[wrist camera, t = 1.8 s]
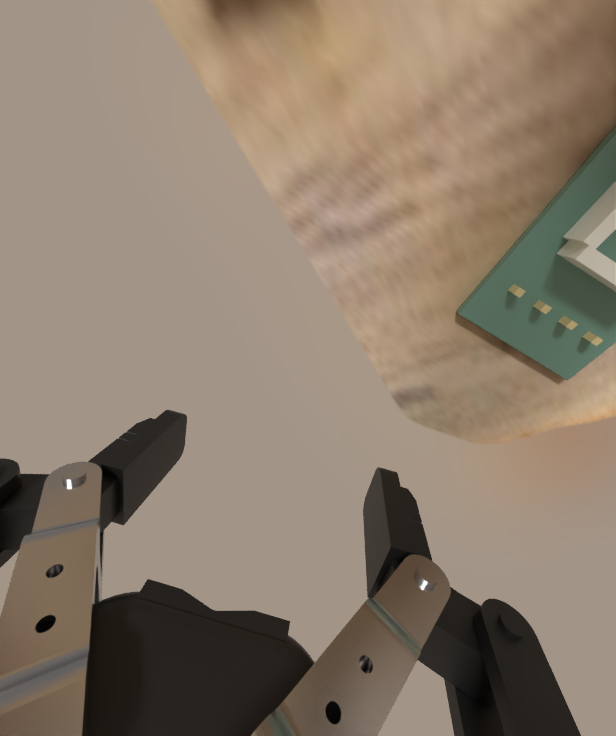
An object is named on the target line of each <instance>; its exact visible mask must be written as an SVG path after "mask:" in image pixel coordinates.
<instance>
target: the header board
mask: <svg viewBox="0 0 616 736" xmlns="http://www.w3.org/2000/svg"><path fill="white" fill-rule="evenodd" d="M457 312H458V314H459V315H461V316H463V317H464V318H466V319H468V320H469V321H471V322H473V323H474V324H476V325H477V326H479V327H481V328H482V329H484V330H486V331H487V332H489V333H491V334H492V335H494V336H495V337H497V338H499V339H500V340H502V341H504V342H505V343H507V344H509V345H510V346H512V347H514V348H515V349H517V350H518V351H520V352H522V353H523V354H525V355H527V356H528V357H530V358H532V359H533V360H535V361H537V362H538V363H540V364H541V365H543V366H545V367H546V368H548V369H550V370H551V371H553V372H555V373H556V374H558V375H559V376H561V377H563V378H564V379H566V380H568V379H570V378H571V377H572V376H574V375H575V374H576V373H577V372H579V371H580V370H581V369H582V368H584V367H585V366H586V365H588V364H589V363H590V362H591V361H593V360H594V359H595V358H596V357H598V356H599V355H600V354H601V353H603V352H604V351H605V350H607V349H608V348H609V347H610V346H612V345H613V344H614V343H615V342H616V126H615V127H614V129H613V130H612V131H611V132H610V133H609V134H608V136H607V137H606V138H605V139H604V140H603V141H602V143H601V144H600V145H599V146H598V147H597V148H596V150H595V151H594V152H593V153H592V154H591V155H590V156H589V158H588V159H587V160H586V161H585V162H584V163H583V165H582V166H581V167H580V168H579V169H578V170H577V172H576V173H575V174H574V175H573V176H572V177H571V179H570V180H569V181H568V182H567V183H566V184H565V186H564V187H563V188H562V189H561V190H560V191H559V192H558V194H557V195H556V196H555V197H554V198H553V199H552V201H551V202H550V203H549V204H548V205H547V206H546V208H545V209H544V210H543V211H542V212H541V213H540V215H539V216H538V217H537V218H536V219H535V220H534V222H533V223H532V224H531V225H530V226H529V227H528V228H527V230H526V231H525V232H524V233H523V234H522V235H521V237H520V238H519V239H518V240H517V241H516V242H515V244H514V245H513V246H512V247H511V248H510V249H509V251H508V252H507V253H506V254H505V255H504V256H503V258H502V259H501V260H500V261H499V262H498V263H497V264H496V266H495V267H494V268H493V269H492V270H491V271H490V273H489V274H488V275H487V276H486V277H485V278H484V280H483V281H482V282H481V283H480V284H479V285H478V287H477V288H476V289H475V290H474V291H473V292H472V294H471V295H470V296H469V297H468V298H467V299H466V300H465V302H464V303H463V304H462V305H461V306H460V307H459V309H458V310H457Z"/></svg>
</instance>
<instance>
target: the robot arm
mask: <svg viewBox="0 0 616 736" xmlns="http://www.w3.org/2000/svg"><path fill="white" fill-rule="evenodd" d="M186 424H187V416H186V415H185V414H181V413H178V412H174V411H170V410H166V411H164V412H163V413H162V414H161V415H160V416H158V417H157V418H156V419H152V418H149V419H147V420H145V421H142V422H140V423H137V424H136V425H134V426H133V427H132V428H131V429H129V430H128V431H127V433H124V434H123V435H122V436H120V437H119V439H116V440H115V441H114V442H113V443H111V444H110V445H109V446H108V447H106V448H105V449H104V450H102V451H101V452H100V453H99V454H97V455H96V456H95V457H93V458H92V459H91V460H90V461H88V462H75V463H71V464H67V465H65V466H62V467H60V468H58V469H56V470H55V471H53V472H52V473H51V474H20V468H19V465H18V463H17V462H15V461H13V460H10V459H0V567H1V566H3V565H4V564H5V563H6V562H7V561H8V560H9V559H10V558H11V557H12V556H13V555H14V554H15V553H16V552H17V551H18V550H19V553H18V557H17V560H16V564H15V567H14V570H13V574H12V577H11V582H10V585H9V588H8V592H7V595H6V599H5V602H4V606H3V609H2V613H1V616H0V736H377V735H378V733H379V731H380V729H381V727H382V726H383V724H384V722H385V720H386V718H387V716H388V714H389V712H390V710H391V708H392V707H393V705H394V703H395V701H396V699H397V697H398V695H399V694H400V692H401V690H402V688H403V686H404V684H405V682H406V680H407V678H408V676H409V675H410V673H411V671H412V669H413V667H414V665H415V663H416V661H417V660H419V661H420V662H421V663H423V664H424V665H426V666H427V667H429V668H430V669H431V670H433V671H434V672H436V673H437V674H438V675H440V676H441V677H443V678H444V680H445V686H446V691H447V697H448V702H449V708H450V713H451V718H452V724H453V730H454V735H455V736H581V735H580V732H579V730H578V728H577V726H576V723H575V721H574V719H573V717H572V714H571V712H570V710H569V708H568V706H567V704H566V701H565V699H564V697H563V695H562V692H561V690H560V688H559V686H558V683H557V681H556V679H555V676H554V674H553V672H552V670H551V667H550V666H549V663H548V661H547V659H546V656H545V654H544V652H543V650H542V647H541V645H540V643H539V641H538V638H537V636H536V634H535V632H534V631H533V629H532V627H531V626H530V625H529V623H528V622H527V621H526V620H525V618H524V617H523V616H522V615H521V614H520V613H519V612H518V611H516V610H515V609H514V608H513V607H511V606H510V605H508V604H506V603H505V602H503V601H500V600H497V599H488V600H486V601H485V602H484V603H483V604H482V606H480V605H478V604H476V603H475V602H473V601H472V600H470V599H468V598H466V597H465V596H463V595H461V594H460V593H458V592H457V591H455V590H454V589H453V588H451V587H450V584H449V581H448V579H447V577H446V575H445V574H444V572H443V571H442V570H441V569H440V567H439V566H438V565H436V564H435V563H434V562H433V561H432V558H431V554H430V550H429V547H428V543H427V539H426V536H425V532H424V528H423V525H422V524H421V522H422V521H421V518H420V514H419V510H418V506H417V503H416V500H415V499H414V497H413V495H412V494H411V493H410V491H409V490H408V489H406V488H403V487H400V482H399V478H398V474H397V472H394V471H390V470H387V469H383V468H377V469H376V471H375V474H374V476H373V479H372V482H371V485H370V487H369V489H368V492H367V495H366V497H365V502H364V508H363V515H364V534H365V535H364V536H365V555H366V574H367V592H368V593H367V594H368V597H369V599H367V600H366V601H365V603H364V604H363V605H362V606H361V607H360V609H359V610H358V611H357V612H356V614H355V615H354V616H353V617H352V618H351V620H350V621H349V622H348V623H347V624H346V626H345V627H344V628H343V629H342V630H341V632H340V633H339V634H338V635H337V636H336V638H335V639H334V640H333V641H332V643H331V644H330V645H329V646H328V647H327V649H326V650H325V651H324V652H323V654H322V655H321V656H320V657H319V658H318V660H317V661H316V662H315V663H314V661H313V660H312V658H311V657H310V655H309V654H308V653H307V652H306V651H305V649H304V648H303V647H302V646H301V645H300V644H299V643H298V642H296V641H295V640H294V639H293V638H291V637H290V636H288V630H289V623H290V621H287V620H284V619H280V618H277V617H274V616H270V615H267V614H263V613H260V612H257V611H214V610H212V609H210V608H209V607H207V606H206V605H204V604H203V603H202V602H200V601H199V600H197V599H195V598H194V597H193V596H191V595H190V594H188V593H187V592H185V591H184V590H183V589H179V588H176V587H173V586H169V585H166V584H162V583H159V582H156V581H152V580H149V579H148V580H147V581H146V583H145V585H144V586H143V588H142V590H141V591H140V592H130V593H124V594H120V595H116V596H113V597H110V598H107V599H104V600H102V573H103V549H104V529H105V528H106V527H107V526H108V525H109V524H110V522H115V523H118V524H121V525H124V524H125V523H126V522H127V521H128V519H129V518H130V517H131V516H132V515H133V513H134V512H135V511H136V510H137V509H138V507H139V506H140V505H141V504H142V503H143V502H144V500H145V499H146V498H147V497H148V496H149V494H150V493H151V492H152V491H153V490H154V489H155V487H156V486H157V485H158V484H159V483H160V482H161V480H162V479H163V478H164V477H165V476H166V474H167V473H168V472H169V471H170V470H171V468H172V467H173V466H174V465H175V464H176V462H177V461H178V460H179V459H180V457H181V455H182V453H183V450H184V446H185V436H186ZM371 598H372V599H371Z"/></svg>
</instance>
